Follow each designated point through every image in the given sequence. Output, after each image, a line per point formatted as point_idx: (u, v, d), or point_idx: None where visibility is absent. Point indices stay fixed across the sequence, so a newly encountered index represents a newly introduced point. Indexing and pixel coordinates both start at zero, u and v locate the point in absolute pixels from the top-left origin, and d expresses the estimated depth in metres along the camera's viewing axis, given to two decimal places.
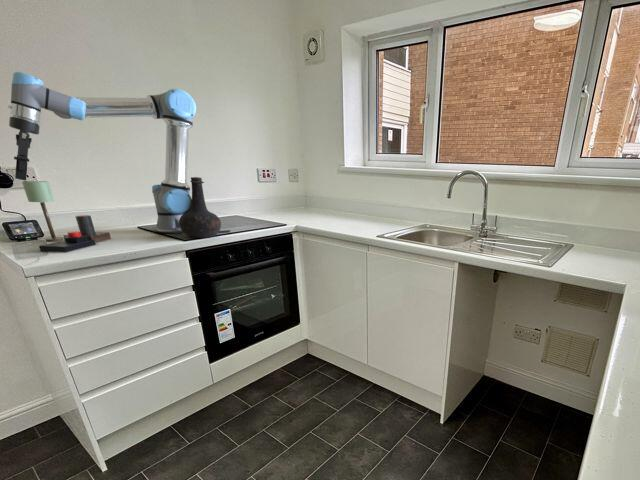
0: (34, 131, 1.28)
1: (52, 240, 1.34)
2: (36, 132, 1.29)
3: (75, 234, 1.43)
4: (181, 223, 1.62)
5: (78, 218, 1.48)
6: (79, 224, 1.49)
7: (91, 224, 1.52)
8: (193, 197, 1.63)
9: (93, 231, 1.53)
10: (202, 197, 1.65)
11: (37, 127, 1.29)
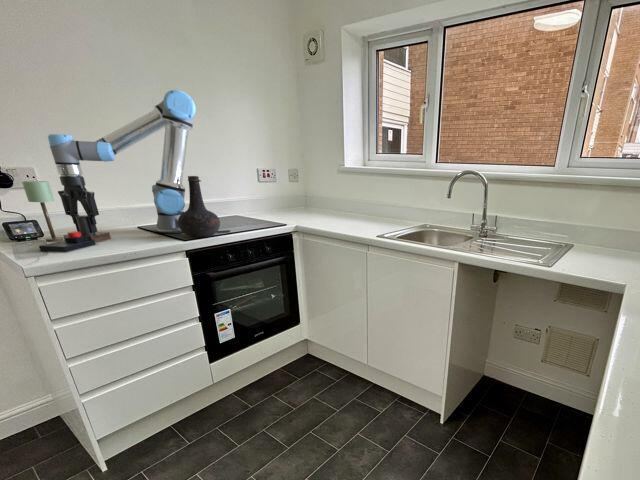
0: None
1: (52, 240, 1.34)
2: None
3: (75, 234, 1.43)
4: (180, 222, 1.62)
5: (78, 218, 1.48)
6: (79, 224, 1.49)
7: None
8: (191, 196, 1.63)
9: None
10: (200, 196, 1.65)
11: None
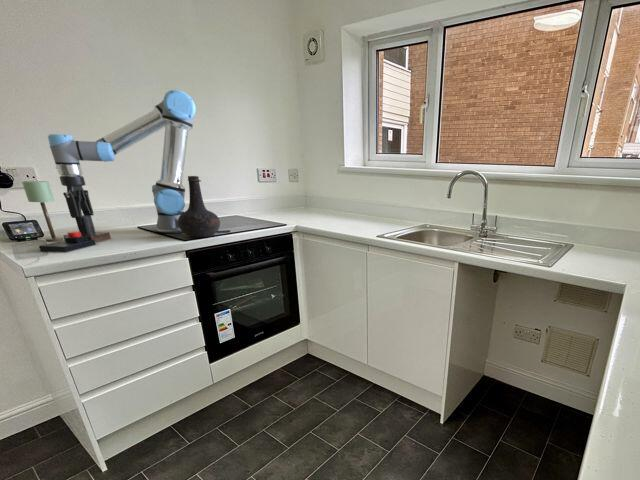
0: (77, 184, 1.44)
1: (52, 240, 1.34)
2: (79, 184, 1.44)
3: (75, 234, 1.43)
4: (180, 222, 1.62)
5: None
6: None
7: None
8: (191, 196, 1.63)
9: None
10: (200, 196, 1.65)
11: (78, 179, 1.44)
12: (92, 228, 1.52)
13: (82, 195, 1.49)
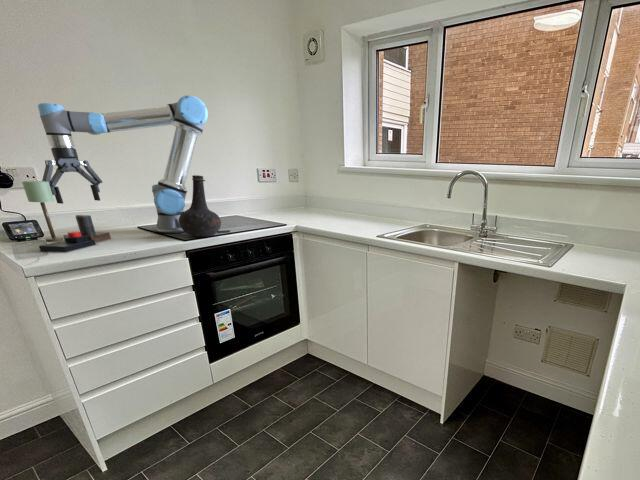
0: (61, 155, 1.38)
1: (52, 240, 1.34)
2: (64, 156, 1.39)
3: (75, 234, 1.43)
4: (181, 220, 1.62)
5: None
6: None
7: (79, 225, 1.49)
8: (194, 195, 1.64)
9: (81, 232, 1.50)
10: (203, 195, 1.66)
11: (63, 151, 1.38)
12: (88, 229, 1.51)
13: (76, 168, 1.44)
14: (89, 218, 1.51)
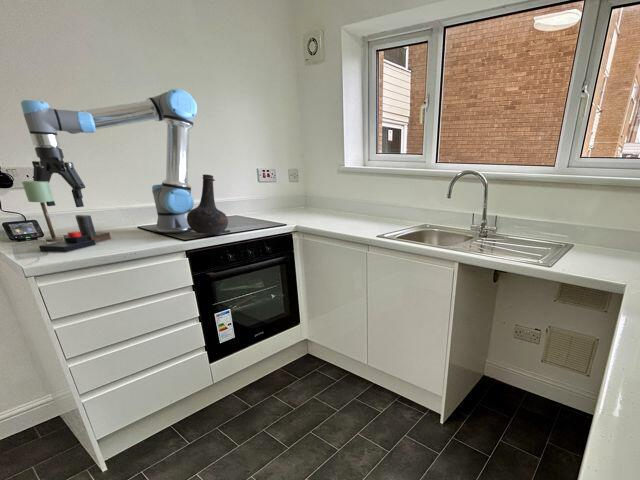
0: (37, 155, 1.31)
1: (52, 240, 1.34)
2: (37, 156, 1.31)
3: (75, 234, 1.43)
4: (190, 216, 1.64)
5: None
6: None
7: (79, 225, 1.49)
8: (203, 193, 1.67)
9: (81, 232, 1.50)
10: (212, 194, 1.70)
11: (35, 150, 1.30)
12: (88, 229, 1.51)
13: None
14: (89, 218, 1.51)
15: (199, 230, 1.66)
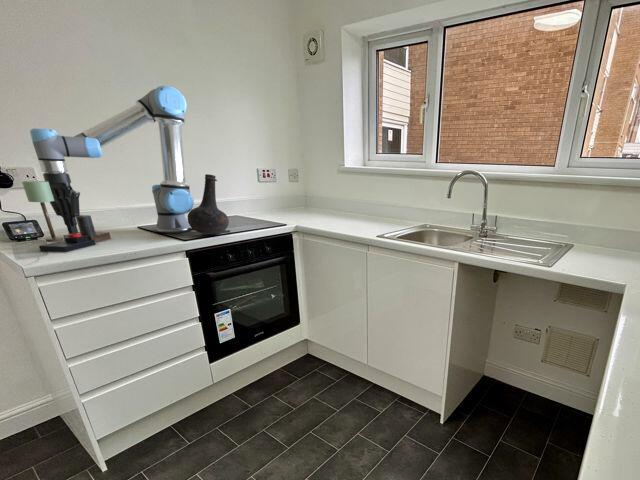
0: None
1: (52, 240, 1.34)
2: None
3: (75, 235, 1.44)
4: (190, 216, 1.64)
5: None
6: None
7: (79, 225, 1.49)
8: (205, 193, 1.68)
9: (81, 232, 1.50)
10: (214, 194, 1.70)
11: (44, 176, 1.33)
12: (88, 229, 1.51)
13: None
14: (89, 218, 1.51)
15: (199, 230, 1.66)
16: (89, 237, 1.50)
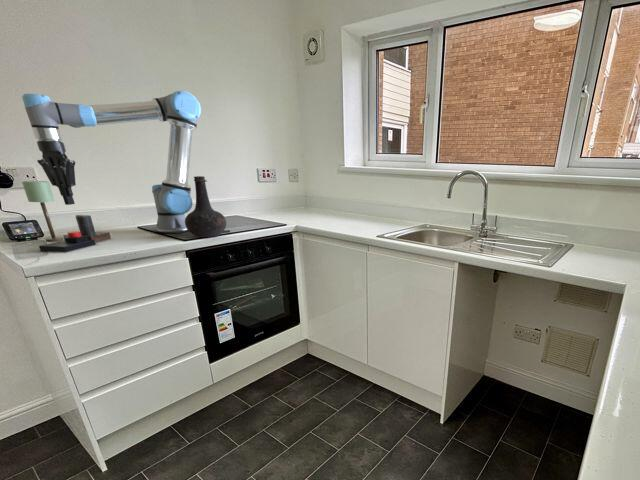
0: (39, 149, 1.32)
1: (52, 240, 1.34)
2: (39, 149, 1.32)
3: (75, 234, 1.43)
4: (188, 222, 1.63)
5: None
6: None
7: (79, 225, 1.49)
8: (197, 196, 1.65)
9: (81, 232, 1.50)
10: (206, 196, 1.67)
11: (37, 144, 1.31)
12: (88, 229, 1.51)
13: None
14: (89, 218, 1.51)
15: (199, 235, 1.67)
16: (89, 237, 1.50)
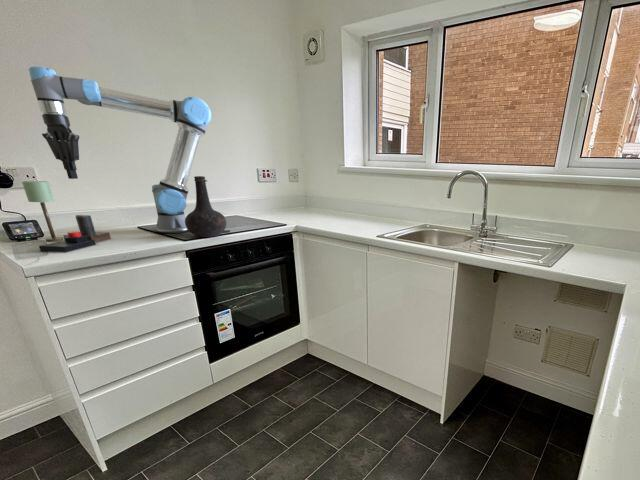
0: (44, 122, 1.34)
1: (52, 240, 1.34)
2: (44, 122, 1.34)
3: (75, 234, 1.43)
4: (188, 222, 1.63)
5: None
6: None
7: (79, 225, 1.49)
8: (198, 196, 1.65)
9: (81, 232, 1.50)
10: (206, 196, 1.66)
11: (43, 117, 1.33)
12: (88, 229, 1.51)
13: None
14: (89, 218, 1.51)
15: (199, 235, 1.67)
16: (89, 237, 1.50)
